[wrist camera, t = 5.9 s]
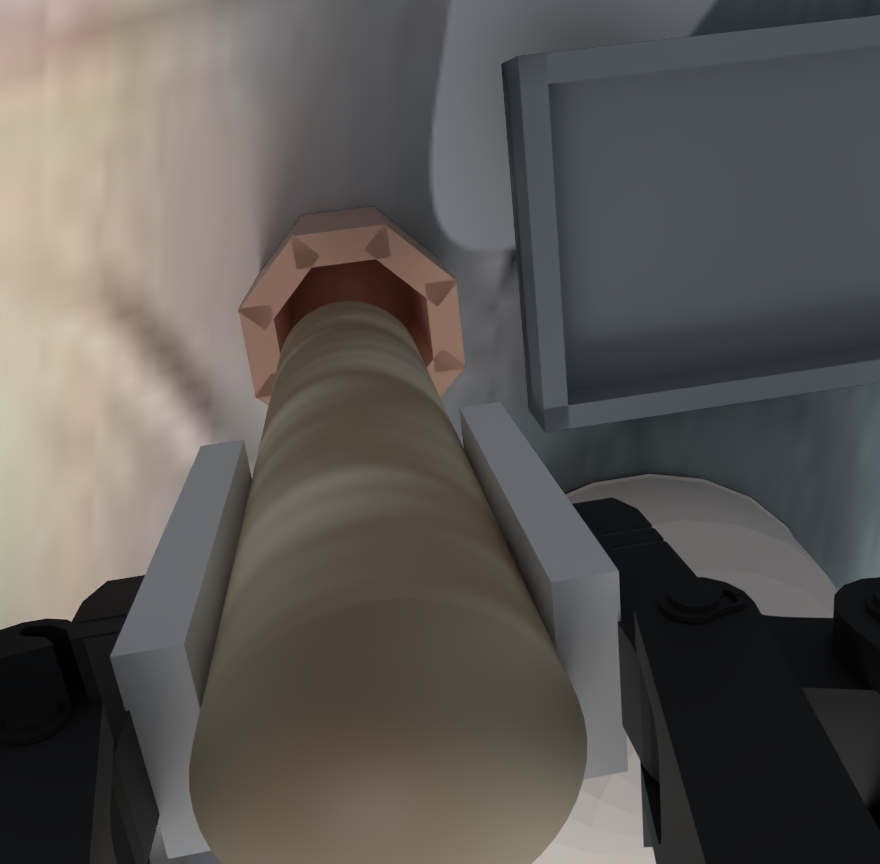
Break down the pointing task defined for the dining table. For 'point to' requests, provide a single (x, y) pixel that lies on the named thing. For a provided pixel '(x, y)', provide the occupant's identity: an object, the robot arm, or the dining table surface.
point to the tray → (697, 219)
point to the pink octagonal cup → (352, 290)
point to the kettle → (708, 555)
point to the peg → (377, 635)
